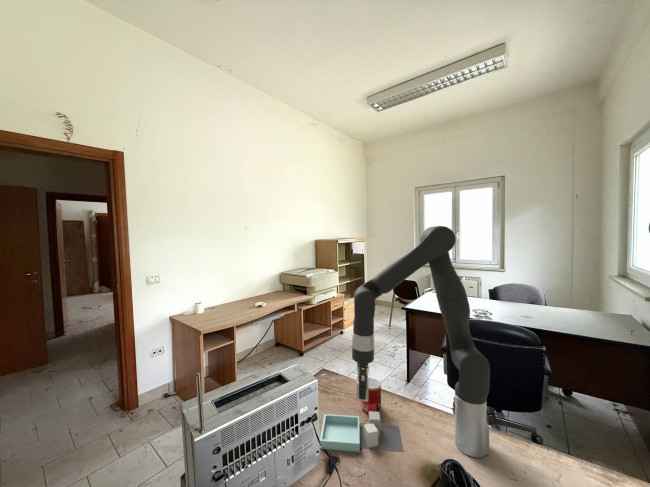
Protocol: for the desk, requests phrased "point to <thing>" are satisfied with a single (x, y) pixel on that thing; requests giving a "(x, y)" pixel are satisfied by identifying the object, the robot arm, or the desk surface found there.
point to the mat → (385, 439)
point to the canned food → (373, 397)
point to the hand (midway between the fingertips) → (362, 394)
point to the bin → (340, 433)
